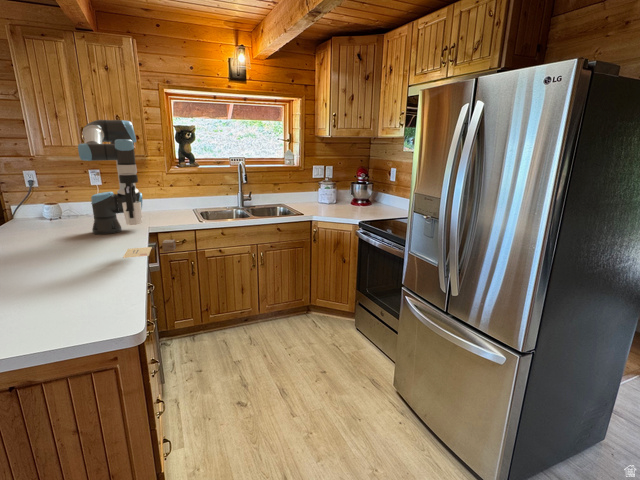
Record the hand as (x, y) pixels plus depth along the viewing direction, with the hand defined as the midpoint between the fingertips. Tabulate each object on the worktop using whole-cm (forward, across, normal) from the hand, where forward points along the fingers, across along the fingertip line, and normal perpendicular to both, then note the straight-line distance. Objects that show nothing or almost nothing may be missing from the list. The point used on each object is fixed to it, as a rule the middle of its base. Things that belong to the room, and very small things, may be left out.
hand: (134, 222), depth 172 cm
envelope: (+15, 0, 0) cm, 15 cm away
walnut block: (+15, +1, +14) cm, 21 cm away
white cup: (0, 0, 0) cm, 0 cm away
